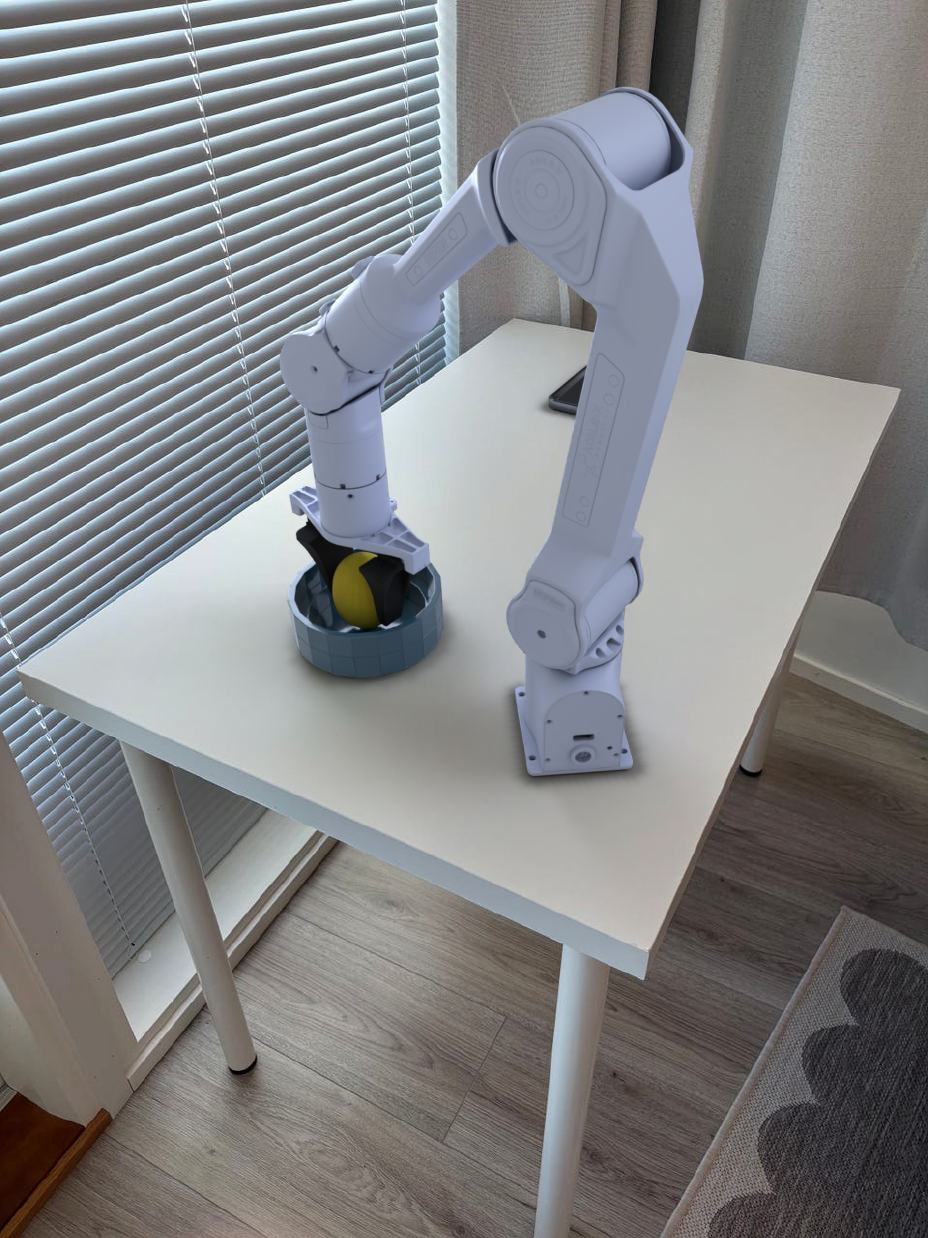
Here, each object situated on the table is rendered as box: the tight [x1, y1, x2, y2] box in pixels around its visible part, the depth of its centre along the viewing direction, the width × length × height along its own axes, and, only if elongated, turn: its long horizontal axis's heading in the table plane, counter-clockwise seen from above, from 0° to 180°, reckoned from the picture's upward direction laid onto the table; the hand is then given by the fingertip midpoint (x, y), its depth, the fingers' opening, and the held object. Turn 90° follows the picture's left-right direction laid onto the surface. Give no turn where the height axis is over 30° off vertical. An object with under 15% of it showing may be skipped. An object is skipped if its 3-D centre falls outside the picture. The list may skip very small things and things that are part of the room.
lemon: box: [333, 552, 381, 629], centre depth 82 cm, size 6×6×8 cm
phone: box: [548, 364, 587, 416], centre depth 121 cm, size 8×1×15 cm
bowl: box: [287, 548, 445, 678], centre depth 84 cm, size 13×13×5 cm
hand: (366, 606), depth 83 cm, fingers closed on lemon, 5 cm apart
